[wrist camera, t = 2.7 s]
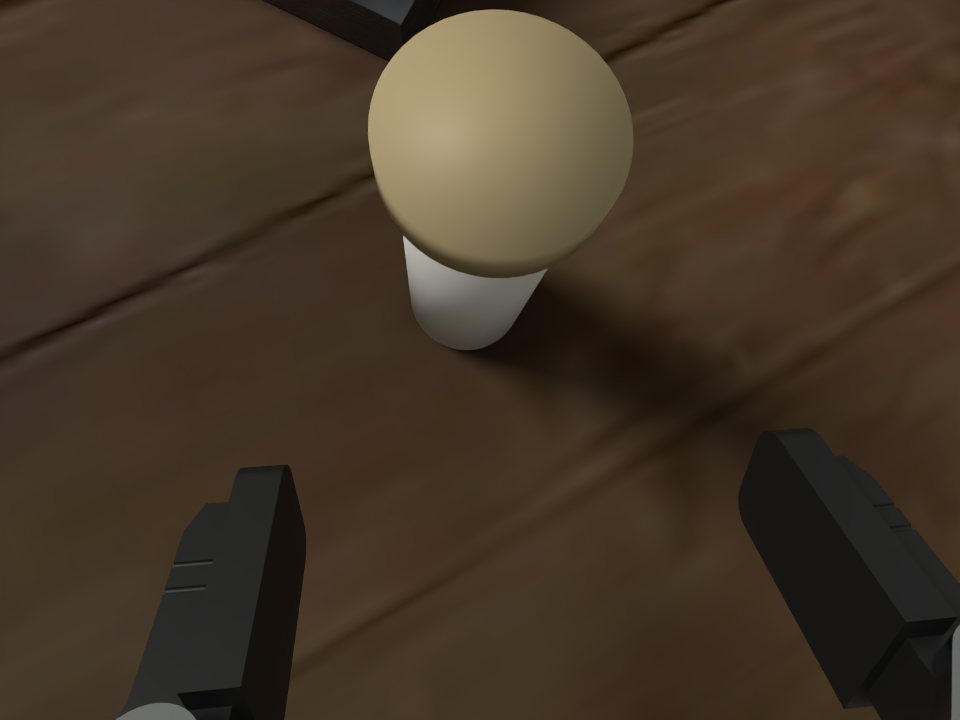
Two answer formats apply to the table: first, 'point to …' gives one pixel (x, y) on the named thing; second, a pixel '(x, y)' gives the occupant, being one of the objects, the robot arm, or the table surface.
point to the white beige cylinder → (494, 163)
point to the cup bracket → (366, 20)
